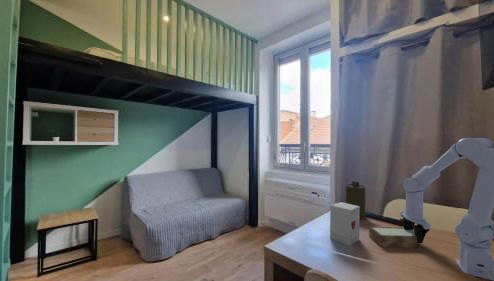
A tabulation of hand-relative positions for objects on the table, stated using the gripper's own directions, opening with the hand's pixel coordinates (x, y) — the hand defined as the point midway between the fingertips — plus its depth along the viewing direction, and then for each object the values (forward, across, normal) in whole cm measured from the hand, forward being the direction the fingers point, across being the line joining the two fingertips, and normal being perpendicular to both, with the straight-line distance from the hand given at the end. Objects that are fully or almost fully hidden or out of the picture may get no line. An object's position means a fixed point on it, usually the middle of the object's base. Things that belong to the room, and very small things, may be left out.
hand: (414, 239), depth 91 cm
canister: (+2, +33, +10) cm, 34 cm away
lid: (+1, 0, +7) cm, 7 cm away
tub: (+2, 0, +9) cm, 9 cm away
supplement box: (+2, +2, +28) cm, 28 cm away
